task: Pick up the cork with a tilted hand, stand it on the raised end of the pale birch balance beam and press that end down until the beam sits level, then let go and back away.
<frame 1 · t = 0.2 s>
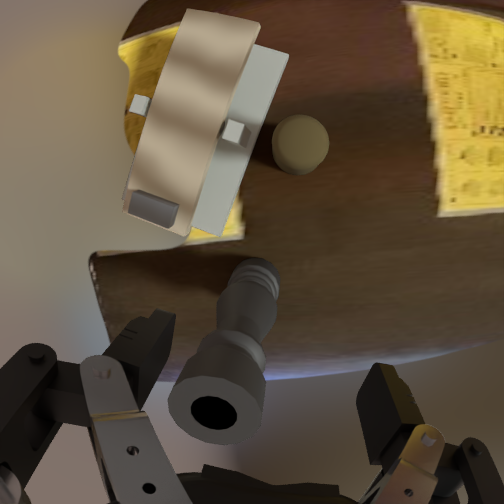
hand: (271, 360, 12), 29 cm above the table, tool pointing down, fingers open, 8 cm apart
candle holder: (255, 280, 42), on the table
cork: (297, 150, 37), on the table
beam: (183, 117, 31), point 7 cm above the table, hinge at 6.0°
beam stand: (201, 126, 38), on the table
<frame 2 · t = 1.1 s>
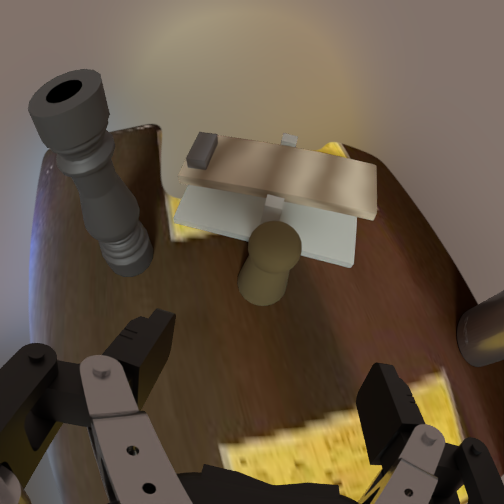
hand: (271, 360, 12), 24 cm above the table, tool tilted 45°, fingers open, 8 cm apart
candle holder: (130, 255, 39), on the table
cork: (261, 282, 40), on the table
beam: (281, 169, 39), point 7 cm above the table, hinge at 6.0°
beam stand: (273, 202, 45), on the table
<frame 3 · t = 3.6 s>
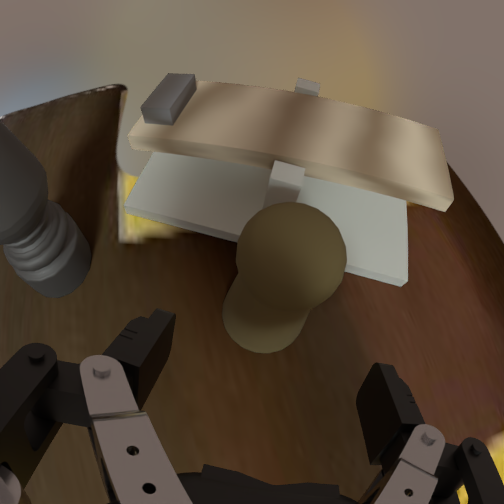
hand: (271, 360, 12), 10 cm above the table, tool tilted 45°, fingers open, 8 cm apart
candle holder: (59, 263, 23), on the table
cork: (263, 313, 24), on the table
beam: (297, 124, 23), point 7 cm above the table, hinge at 6.0°
beam stand: (281, 184, 29), on the table
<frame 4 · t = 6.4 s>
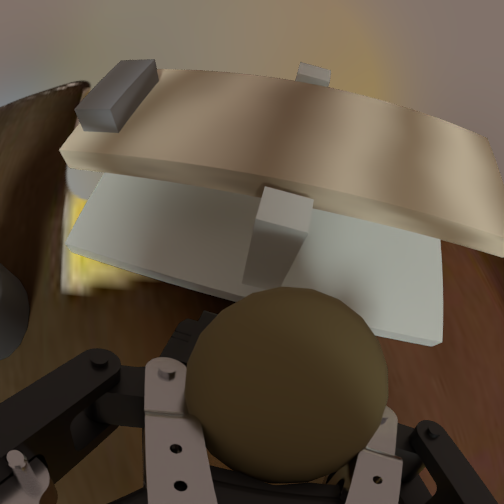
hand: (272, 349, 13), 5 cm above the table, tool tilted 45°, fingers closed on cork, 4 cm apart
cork: (249, 396, 16), on the table, touching gripper
beam: (300, 127, 15), point 7 cm above the table, hinge at 6.0°
beam stand: (278, 208, 22), on the table
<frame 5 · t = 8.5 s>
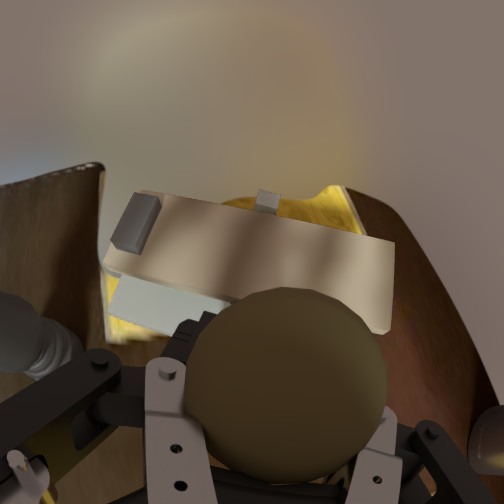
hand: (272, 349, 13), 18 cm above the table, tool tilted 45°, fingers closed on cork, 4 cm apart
candle holder: (59, 356, 27), on the table
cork: (248, 396, 16), point 13 cm above the table, touching gripper
beam: (251, 254, 26), point 7 cm above the table, hinge at 6.0°
beam stand: (244, 286, 33), on the table
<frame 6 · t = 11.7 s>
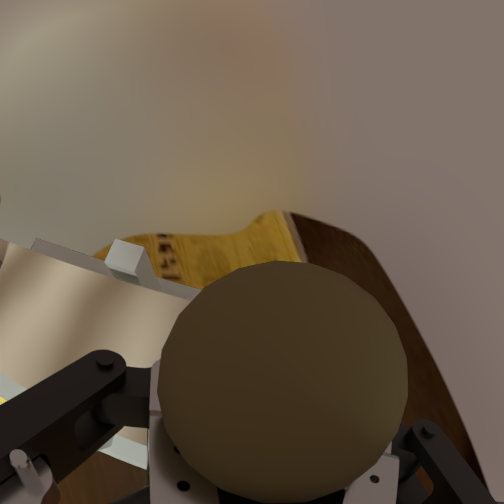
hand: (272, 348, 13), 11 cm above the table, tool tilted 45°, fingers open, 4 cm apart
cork: (254, 398, 15), point 8 cm above the table, touching beam, gripper
beam: (91, 345, 15), point 7 cm above the table, hinge at 2.6°, touching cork
beam stand: (125, 364, 22), on the table
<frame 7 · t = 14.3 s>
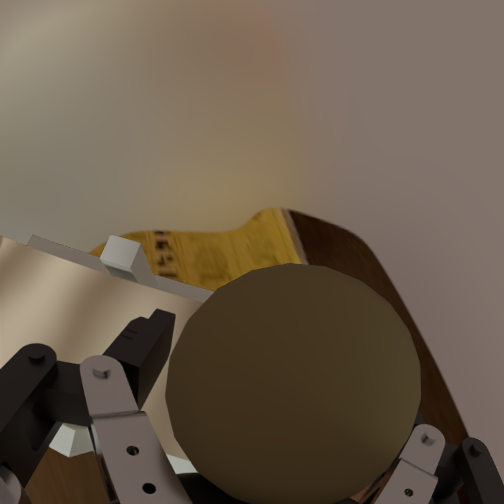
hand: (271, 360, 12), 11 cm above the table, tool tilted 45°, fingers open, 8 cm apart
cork: (253, 399, 15), point 8 cm above the table, touching beam
beam: (86, 343, 15), point 7 cm above the table, hinge at 1.2°, touching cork
beam stand: (121, 362, 21), on the table
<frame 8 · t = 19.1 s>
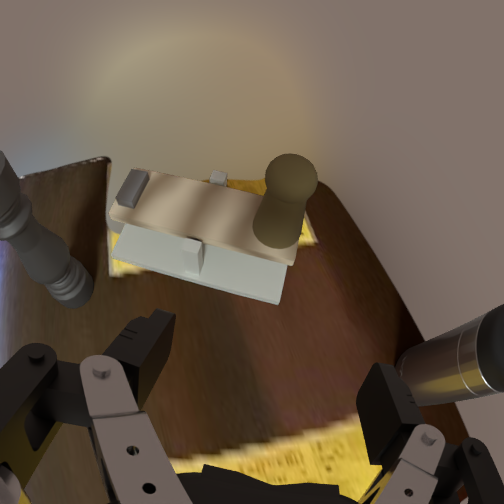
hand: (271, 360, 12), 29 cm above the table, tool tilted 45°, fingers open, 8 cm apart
candle holder: (75, 288, 41), on the table
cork: (276, 228, 40), point 7 cm above the table, touching beam
beam: (205, 210, 40), point 7 cm above the table, hinge at 1.1°, touching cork
beam stand: (206, 238, 46), on the table
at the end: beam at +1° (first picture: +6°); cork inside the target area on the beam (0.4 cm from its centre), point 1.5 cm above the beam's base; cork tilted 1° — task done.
